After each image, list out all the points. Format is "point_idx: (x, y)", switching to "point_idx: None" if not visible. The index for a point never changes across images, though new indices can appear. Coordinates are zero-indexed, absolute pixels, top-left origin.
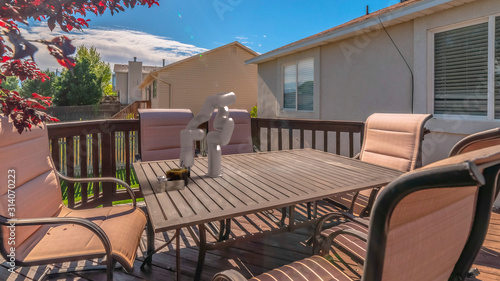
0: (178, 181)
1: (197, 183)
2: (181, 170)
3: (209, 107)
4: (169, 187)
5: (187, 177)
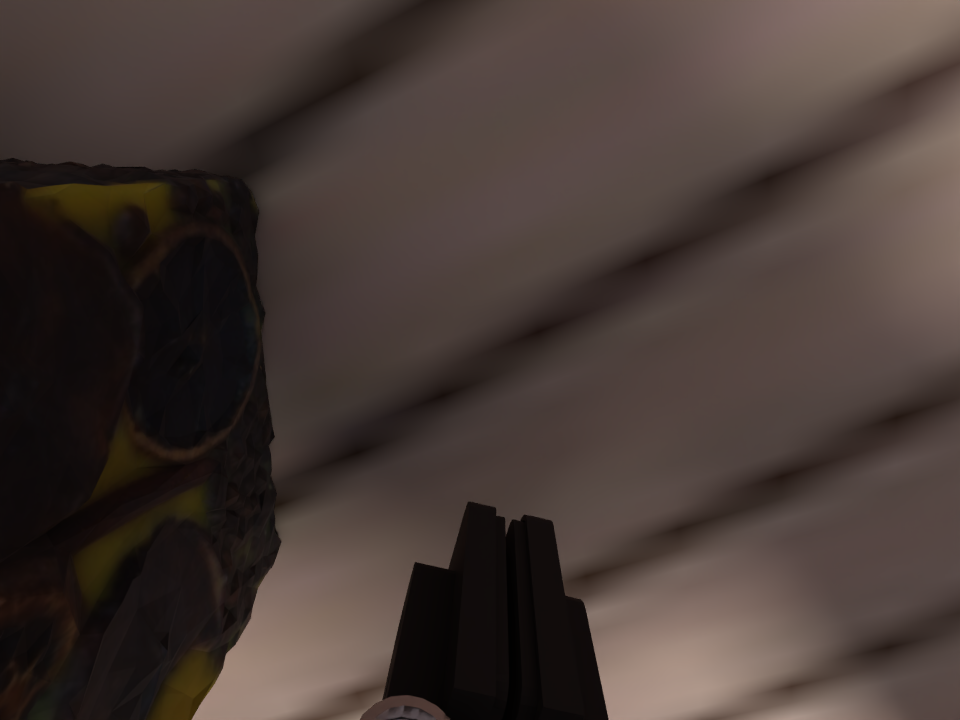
0: None
1: None
2: None
3: None
4: None
5: (177, 712)
